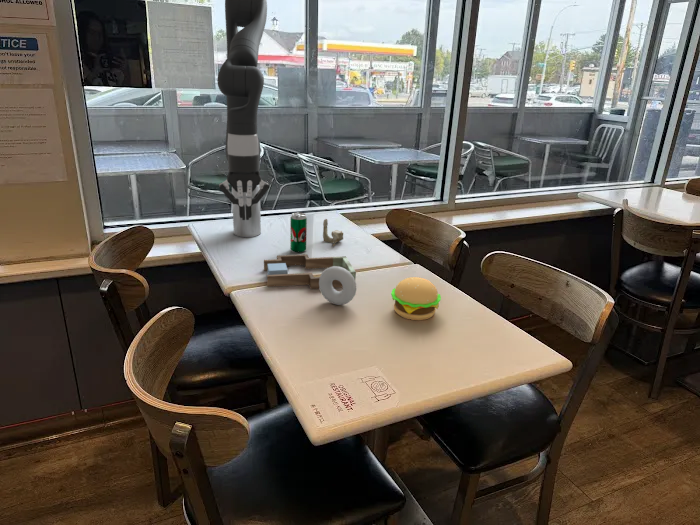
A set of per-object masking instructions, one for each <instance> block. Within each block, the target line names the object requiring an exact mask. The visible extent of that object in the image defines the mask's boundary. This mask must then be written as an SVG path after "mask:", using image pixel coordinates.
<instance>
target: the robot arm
mask: <svg viewBox="0 0 700 525" xmlns="http://www.w3.org/2000/svg"><path fill="white" fill-rule="evenodd" d="M224 13H225V15H224V18H225V31H226V32H225V33H226V35H225V36H226V59H225V61H224V62H223V64H221V67H220V69H219V71H218V74H217V87H218V89H219V91H220V92H221V93H222V94H223V95H224V96H226V113H227V114H226V132H225V157H226V161H227V162H228V163H227V165H228V174H227V175H226V179H225V180H224V181H223V182H220V183H219V185H218V186H219V189H220V191H221V192H222V193H223V194H224V195H225V197H226V198H227V199H228V200H229V202H230V203H231V204H232V221H233V222H232V223H233V224H232V225H233V234H234V235H235V236H237V237H241V238H252V237H257V236H259V235H261V233H262V228H261V225H262V224H261V222H262V221H261V220H262V219H261V217H262V216H261V214H262V213H261V199H263V197H264V196H265V194H266V193H267V191H268V190H269V189H270V184H269V183H268V182H267V181H264V180H263V179H262V177H261V175H260V174H261V171H260V170H261V165H260V164H261V142H260V141H261V140H260V139H259V137H258V111H259V104H260V100H261V96H262V92H263V89H264V84H265V78H264V74H263V71H262V70H261V69H260V68H259V67H258V63H259V62H258V61H259V51H260V50H259V49H260V44H261V41H262V38H263V34H264V32H265V27H266V23H267V14H268V0H224ZM238 27H239V28H241V29H240V30H239V29H238ZM230 186H231V190H230Z"/></svg>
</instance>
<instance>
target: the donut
mask: <svg viewBox="0 0 700 525" xmlns="http://www.w3.org/2000/svg"><path fill="white" fill-rule="evenodd" d="M319 277H320V279H319V291H320V293H321V295H322V296H323V298H324V299H325V300H326V301H327V302H329V303H330V304H333V305H336V306H337V305H338V306H343V305H347V304H349V303H350V302H351V301H353V299H354V298H355V296H356V295H357V294H356V293H357V282H356V278H355V279H354V277H353V276H352V274H351V273H350V272H349V271H348V270H346V269H345V268H342V267H339V266H333V267H329V268H325V269H324V270H323V271H322V272H321V275H319ZM333 280H338V281H340V282H341V284H342V286H343V287H342V290H340V291H339V290H337V289H335V288H333V285H332V282H333Z"/></svg>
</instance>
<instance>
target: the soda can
mask: <svg viewBox="0 0 700 525" xmlns="http://www.w3.org/2000/svg"><path fill="white" fill-rule="evenodd" d="M289 220H290V230H289V231H290V235H289V236H290V242H289V243H290V246H289V248H290V250H291V252H293V253H296V254H297V253H298V254H301V253H304V252H305V251H307V237H308V235H307V230H308V228H307V227H308V225H307V224H308V222H307V221H308V217H307V216H306V213H304V212H292V213H291V216H290V219H289Z"/></svg>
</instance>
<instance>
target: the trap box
mask: <svg viewBox="0 0 700 525" xmlns="http://www.w3.org/2000/svg"><path fill="white" fill-rule="evenodd" d="M275 263H286V266H287V267H293V266H296V267H297V266H304V268H305V270H311V269H327V268H329V267H333V266H339V267H342V268H345V269H346V270H348V271H349V272H350V273H351V274H352V276H353V277H354V279H355V280H356V278H357V277H356V274H357V271H356V270H355V268H354V267H353V265H352V264H351V262H350V260H349V259H348V257H347V256H327V257H326V256H323V257H321V256H320V257H309V255H308V254H283V255H276V258H275V259H264V260H263V270H264V272H268V266H267V264H275ZM266 278H267V282H266V284H267V288H271V287H290V286H306V285H307V286H309V289H310V290H317V289H319V279H320V276H314V274H313V272H304V273H302V272H300V273H288V274H277V275H268V274H266ZM332 285H333V288H334V289H335V288H338V289H339V288H343V286H342V284H341V282H340V281H338V280H333V282H332ZM319 290H320V289H319Z"/></svg>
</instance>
